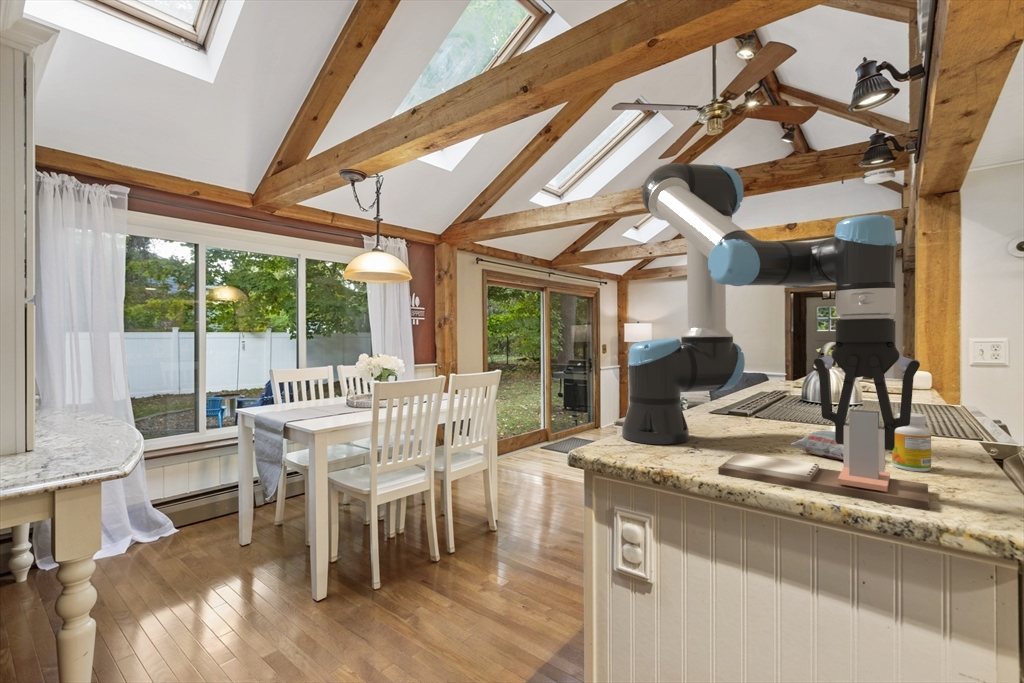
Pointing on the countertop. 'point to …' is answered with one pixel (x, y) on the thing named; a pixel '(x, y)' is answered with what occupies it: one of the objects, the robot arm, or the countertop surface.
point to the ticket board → (821, 480)
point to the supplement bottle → (913, 445)
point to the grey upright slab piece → (864, 453)
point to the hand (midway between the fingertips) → (864, 467)
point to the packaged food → (822, 445)
